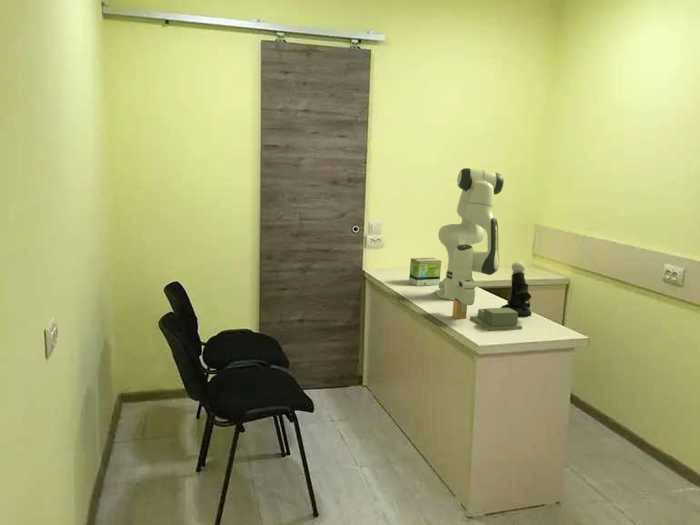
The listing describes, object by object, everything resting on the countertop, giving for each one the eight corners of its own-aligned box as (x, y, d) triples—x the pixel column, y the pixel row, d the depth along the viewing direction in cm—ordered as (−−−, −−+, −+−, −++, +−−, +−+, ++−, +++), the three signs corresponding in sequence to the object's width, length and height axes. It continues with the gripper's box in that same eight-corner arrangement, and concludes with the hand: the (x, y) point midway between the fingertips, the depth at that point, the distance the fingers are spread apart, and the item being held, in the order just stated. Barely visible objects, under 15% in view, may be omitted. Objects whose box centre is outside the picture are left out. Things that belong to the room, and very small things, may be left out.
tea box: (417, 286, 332) (418, 261, 329) (408, 283, 341) (410, 257, 338) (440, 285, 338) (441, 259, 335) (430, 281, 347) (432, 256, 344)
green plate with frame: (470, 318, 268) (471, 303, 267) (501, 317, 272) (503, 302, 271) (488, 330, 251) (489, 314, 250) (522, 328, 255) (523, 312, 254)
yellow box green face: (452, 316, 272) (453, 297, 270) (462, 316, 273) (463, 297, 271) (456, 318, 268) (457, 299, 266) (466, 318, 269) (467, 299, 267)
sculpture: (526, 309, 289) (530, 259, 284) (540, 323, 266) (546, 268, 261) (495, 308, 289) (499, 258, 285) (507, 321, 266) (511, 267, 261)
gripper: (446, 275, 276) (444, 304, 279) (465, 285, 257) (462, 316, 259) (458, 275, 278) (456, 304, 280) (478, 285, 258) (475, 315, 261)
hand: (459, 309), depth 270 cm, fingers closed on yellow box green face, 4 cm apart
